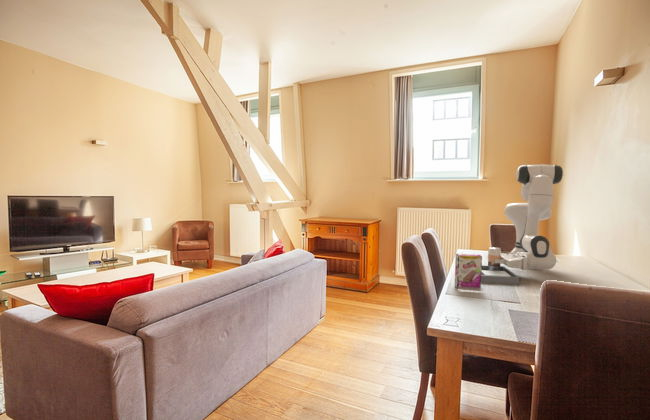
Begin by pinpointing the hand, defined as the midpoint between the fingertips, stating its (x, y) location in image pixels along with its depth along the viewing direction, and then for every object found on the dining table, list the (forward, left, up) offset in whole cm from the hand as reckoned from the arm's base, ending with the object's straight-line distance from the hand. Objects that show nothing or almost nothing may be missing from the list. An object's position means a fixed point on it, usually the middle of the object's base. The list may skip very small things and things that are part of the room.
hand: (492, 259), depth 181 cm
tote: (+5, -1, -10) cm, 11 cm away
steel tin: (0, +1, -8) cm, 8 cm away
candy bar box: (+24, -17, -10) cm, 31 cm away
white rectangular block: (+10, -1, -9) cm, 13 cm away
